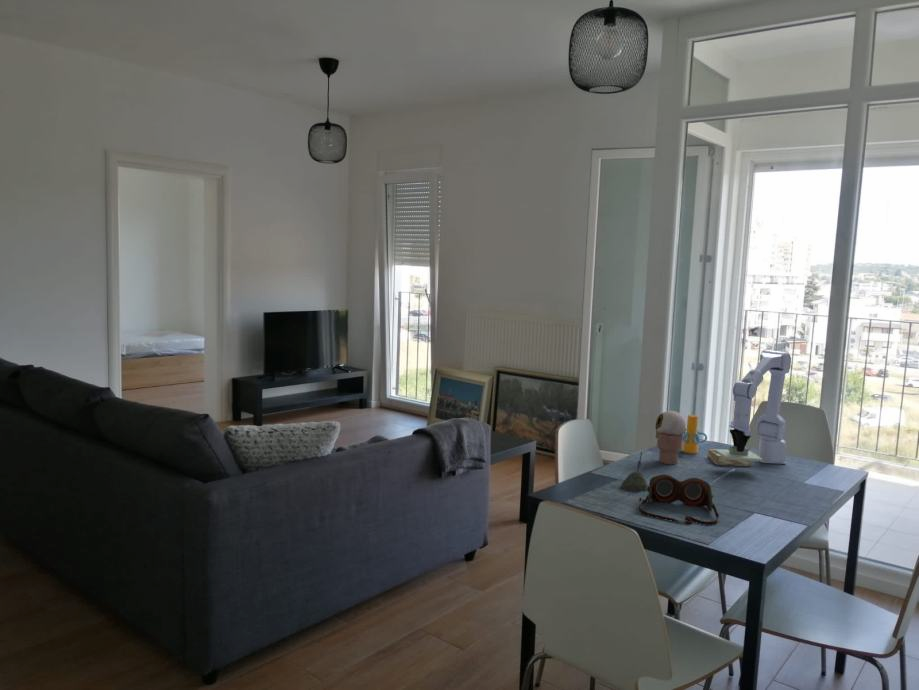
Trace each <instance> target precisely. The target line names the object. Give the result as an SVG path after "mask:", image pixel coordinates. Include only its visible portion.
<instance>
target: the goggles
mask: <svg viewBox="0 0 919 690" xmlns="http://www.w3.org/2000/svg"><path fill="white" fill-rule="evenodd" d="M647 486H648V488H647V490H646V492H648V494H647V495H646V497H645V499H644V498H642V497H639V500H638V501H639V502H640V503H639V504H637V510H638V512H639V513H640V514H642V515H643V514H645V515H644V516H647V515H649V516H648V517H650V516H653V517H652V518H655V517H658V518H657V519H659V518H661V519H660V520H663V519H667V520H666V521H668V520H672V521H671V522H673V521H676V522H675V523H678V522H681V523H680V524H683V523H686V524H685V525H689V524H691V525H692V524H693V523H696V522H697V524H699V523H701V525H703V524H705V525H706V526H713V525H712V524H714V525H716V524H717V523H718V520H719V517H720V516H719V513H718V510H717V507H716V506H715V503H713V497H714V495H713V494H712V486H711V485H710V483H708V482H707V481H705V480H703V479H701V478H699V477H690V478H687V479H684V480H678V479H676V478H675V477H673V476H672V475H669V474H664V473H663V474H658V475H655V476H653V477H651V478H650V480H649V484H648V485H647ZM651 501H653V502H658V501H659V502H658V503H666V502H668V504H670V503H674V502H678V501H679V502H681V503H682V504H684V505H686V506H691V505H692V507H700V508H701V507H707V510H708V512H712V509H713V511H714V514H715V520H711V521H709V520H702V519H698V518H695V517H692V516H690V515H685V518H684V519H683V520H682V519H679V518H678V519H676V518H672V517H668V516H663V515H660V514H656V513H652V512H649V511H647V510H644V509H642V508H643V505H644V504H646V503H647V504H648V505H651ZM686 520H687V521H686ZM692 521H693V522H692ZM705 525H704V526H705Z"/></svg>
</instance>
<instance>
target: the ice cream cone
mask: <svg viewBox="0 0 919 690" xmlns="http://www.w3.org/2000/svg"><path fill="white" fill-rule="evenodd" d="M655 421H656V422H655V430H656V431H655V432H656V434H655V439H656V446H657V449H659V454H658V462H659V463H661V464H665V465H676V464H677V463H678V457H679V456H678V455H679V452H680V451H681V450H682V448H683V440H682V439H683V433H684V431H685V429H687V422H686V419H685V418H684V416H683V415H682V414H681V413H679V412H678V411H675V410H665V411H663V412H661V413H660V414H659V415H658V417H657V419H656V420H655Z"/></svg>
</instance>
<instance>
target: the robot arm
mask: <svg viewBox="0 0 919 690" xmlns="http://www.w3.org/2000/svg"><path fill="white" fill-rule="evenodd" d="M791 363H792V357H791V354H790V353H789V352H788V351H778V350H770V349H763V350H762V351H761V352H760V356H759V362H758V364H757V365H756V367H755V368H754V369H751V370H749V371H748V372H747V373H746V375H745V376H743V378H742V379H741V380H740V381H739V380H738V381H736V382H735V383H734V385H733V388H732V395H733V401H734V407H733V417H732V421H730V424H729V428H731V429H729V433H730V435H731V439H732V444H733V445H732V446H737V451H738V452H743V451H744V449H745V447H747V443H748V441H749V440H750V438H752V430H751V428H750V427H751V426H750V422H751V413H752V412H751V411H752V401H753V399H754V398H755V397H756V393H757V390H758V387H759V386H760V385H761V383H762V382H763V381H764V375H765V374H767V372H769V373H770V381H769V389H768V394H767V402H766V410H765V413H764V414H762V415H760V416H759V417H758V420H757V423H756V425H755V432H756V435H757V436H758V438H759V443H758V444H759V446H758V454H757V456H759V457H760V458H762V461H759V462H760V463H762V464H776V465H777V464H780V465H781V464H783V465H786V464H787V462H786V456H787V448H788V447H787V443H786V440H784V438H785V436H786V433H787V427H786V425H787V421H786V420H785V419H784V418H783V417H782V416H781V415H780V411H781V406H782V399H783V392H784V385H785V378H786V375H787V374H789V373H790V370H791Z"/></svg>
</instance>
